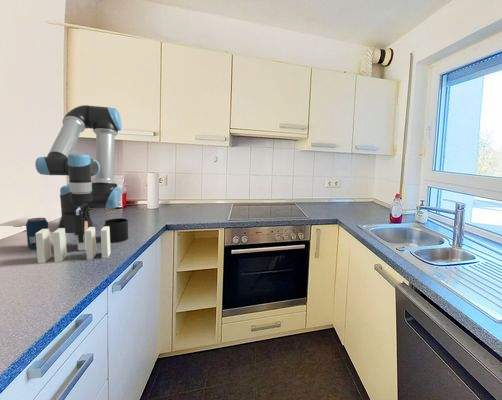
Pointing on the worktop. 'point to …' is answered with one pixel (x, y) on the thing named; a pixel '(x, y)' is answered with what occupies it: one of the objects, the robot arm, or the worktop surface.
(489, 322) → the worktop surface
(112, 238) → the mug
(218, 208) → the worktop surface
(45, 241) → the domino
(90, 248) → the domino
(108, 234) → the domino
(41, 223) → the soda can
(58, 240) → the domino
